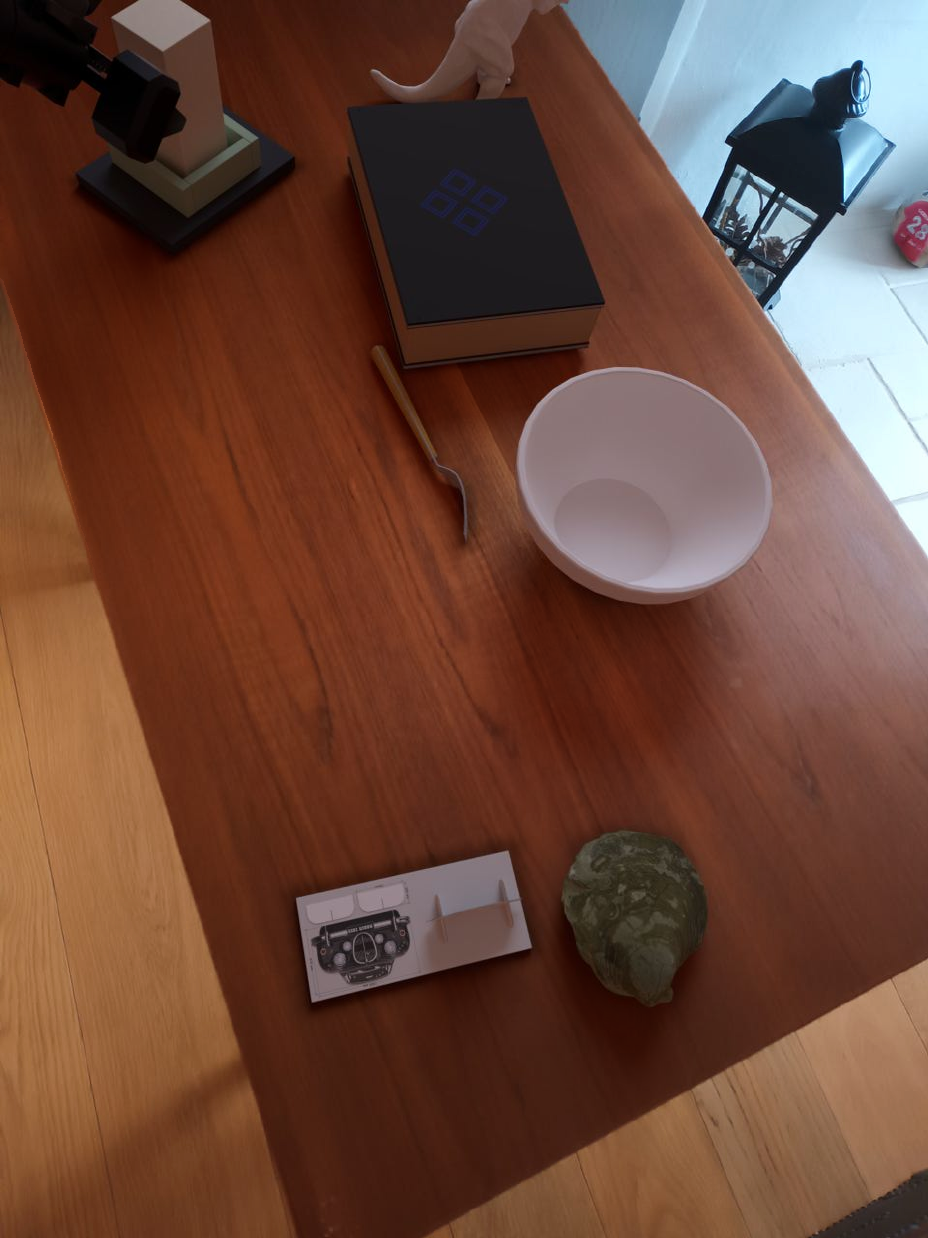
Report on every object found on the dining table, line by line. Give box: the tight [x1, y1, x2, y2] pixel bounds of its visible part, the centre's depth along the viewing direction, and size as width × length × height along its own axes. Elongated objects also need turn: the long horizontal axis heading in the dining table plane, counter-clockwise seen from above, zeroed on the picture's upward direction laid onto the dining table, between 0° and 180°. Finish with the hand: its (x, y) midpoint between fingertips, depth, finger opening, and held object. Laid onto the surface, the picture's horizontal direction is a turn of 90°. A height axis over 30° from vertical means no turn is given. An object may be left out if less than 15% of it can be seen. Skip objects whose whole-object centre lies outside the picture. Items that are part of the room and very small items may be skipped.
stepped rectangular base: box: [75, 104, 296, 256], centre depth 80 cm, size 16×12×4 cm
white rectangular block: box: [110, 0, 228, 179], centre depth 75 cm, size 5×5×14 cm
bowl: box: [514, 366, 774, 605], centre depth 69 cm, size 20×20×10 cm
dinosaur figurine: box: [369, 0, 570, 104], centre depth 84 cm, size 20×10×15 cm, turn 108°
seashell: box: [560, 829, 709, 1008], centre depth 60 cm, size 10×7×10 cm
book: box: [346, 96, 606, 371], centre depth 79 cm, size 17×25×7 cm
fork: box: [370, 344, 468, 542], centre depth 73 cm, size 2×2×20 cm
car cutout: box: [295, 850, 533, 1004], centre depth 57 cm, size 15×7×4 cm, turn 103°
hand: (142, 94), depth 72 cm, fingers open, 9 cm apart
